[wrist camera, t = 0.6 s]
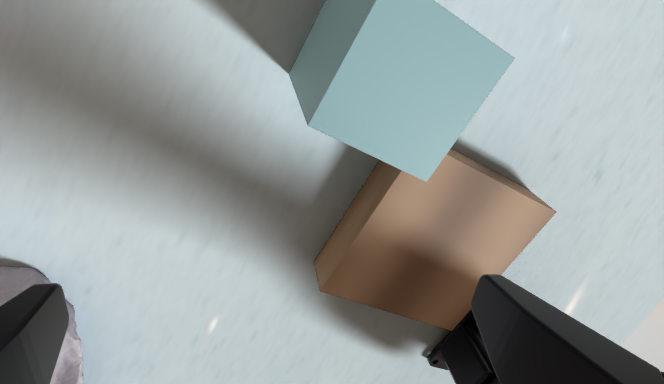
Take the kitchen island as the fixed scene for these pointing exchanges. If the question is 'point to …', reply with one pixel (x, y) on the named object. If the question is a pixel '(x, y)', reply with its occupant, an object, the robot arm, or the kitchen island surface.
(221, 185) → the kitchen island surface
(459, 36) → the teal block
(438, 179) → the walnut base block
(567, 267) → the kitchen island surface
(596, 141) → the kitchen island surface
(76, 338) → the stone block
